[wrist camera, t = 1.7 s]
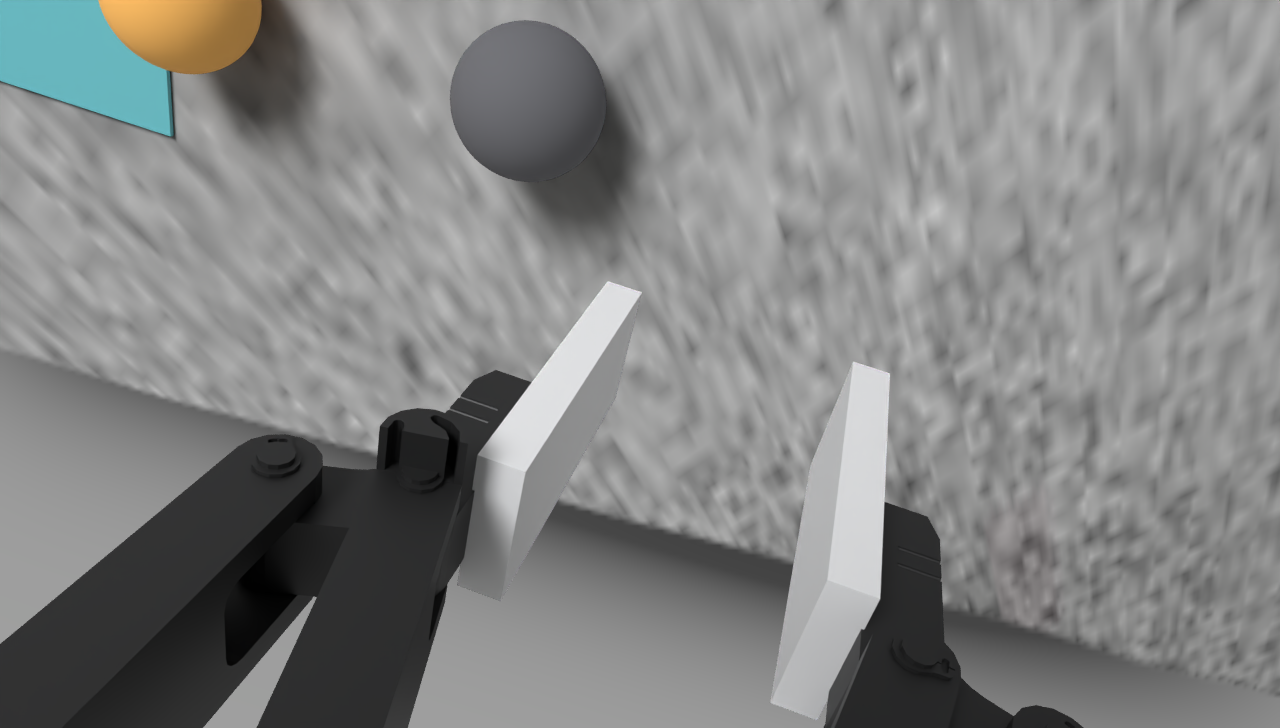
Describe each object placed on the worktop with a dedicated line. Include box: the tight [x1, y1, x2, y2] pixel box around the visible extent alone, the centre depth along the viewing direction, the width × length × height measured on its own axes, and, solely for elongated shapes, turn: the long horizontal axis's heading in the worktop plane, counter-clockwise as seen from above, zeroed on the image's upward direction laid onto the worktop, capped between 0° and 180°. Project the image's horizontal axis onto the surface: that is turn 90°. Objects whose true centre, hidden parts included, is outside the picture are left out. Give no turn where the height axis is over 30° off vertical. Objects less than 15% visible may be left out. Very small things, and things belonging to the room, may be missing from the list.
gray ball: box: [450, 20, 606, 182], centre depth 32 cm, size 6×6×6 cm
